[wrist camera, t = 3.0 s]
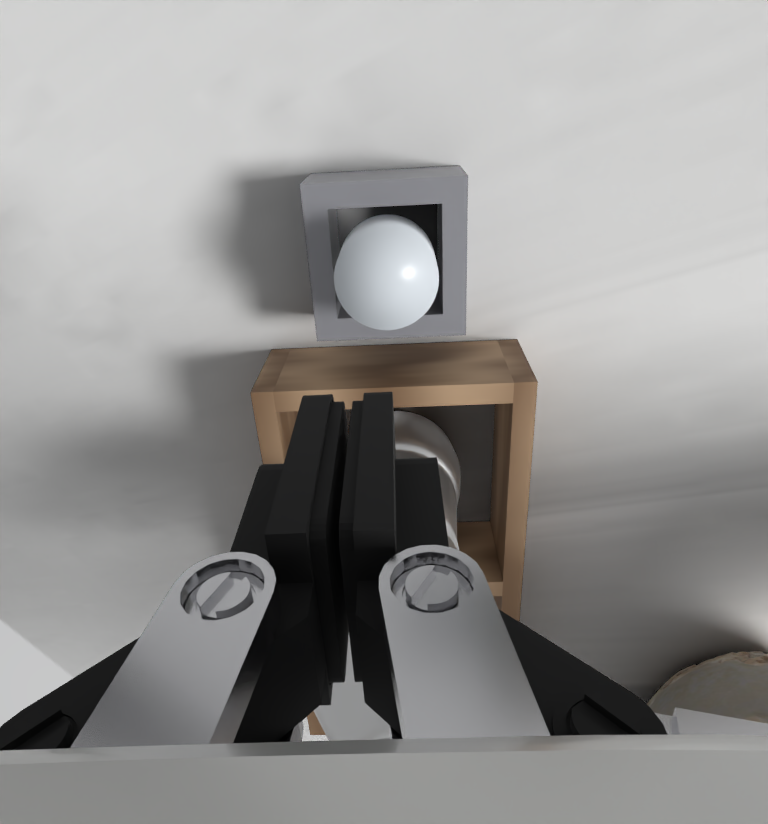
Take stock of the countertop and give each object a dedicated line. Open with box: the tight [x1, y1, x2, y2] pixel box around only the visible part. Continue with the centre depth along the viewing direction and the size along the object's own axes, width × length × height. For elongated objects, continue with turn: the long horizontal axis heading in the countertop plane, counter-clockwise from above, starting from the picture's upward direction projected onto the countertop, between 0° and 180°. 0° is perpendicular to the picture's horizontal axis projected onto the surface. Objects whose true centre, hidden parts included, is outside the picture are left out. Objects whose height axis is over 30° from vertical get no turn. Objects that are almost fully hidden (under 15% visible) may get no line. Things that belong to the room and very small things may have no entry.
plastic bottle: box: [314, 411, 461, 741], centre depth 25 cm, size 6×7×20 cm
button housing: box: [300, 166, 468, 341], centre depth 27 cm, size 7×7×4 cm
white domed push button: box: [334, 214, 439, 330], centre depth 24 cm, size 4×4×2 cm
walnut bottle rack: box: [250, 339, 538, 735], centre depth 34 cm, size 12×24×5 cm, turn 3°
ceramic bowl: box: [647, 651, 768, 724], centre depth 38 cm, size 22×23×10 cm
